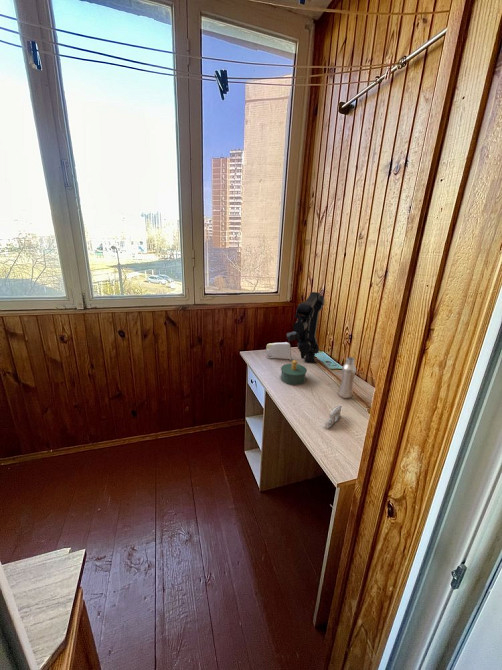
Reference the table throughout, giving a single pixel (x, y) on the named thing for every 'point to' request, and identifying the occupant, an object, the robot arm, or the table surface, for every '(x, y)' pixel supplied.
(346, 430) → the table surface
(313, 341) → the robot arm
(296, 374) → the tin lid
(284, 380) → the tin
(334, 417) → the grey stone
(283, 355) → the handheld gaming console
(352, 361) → the silver metal bottle
